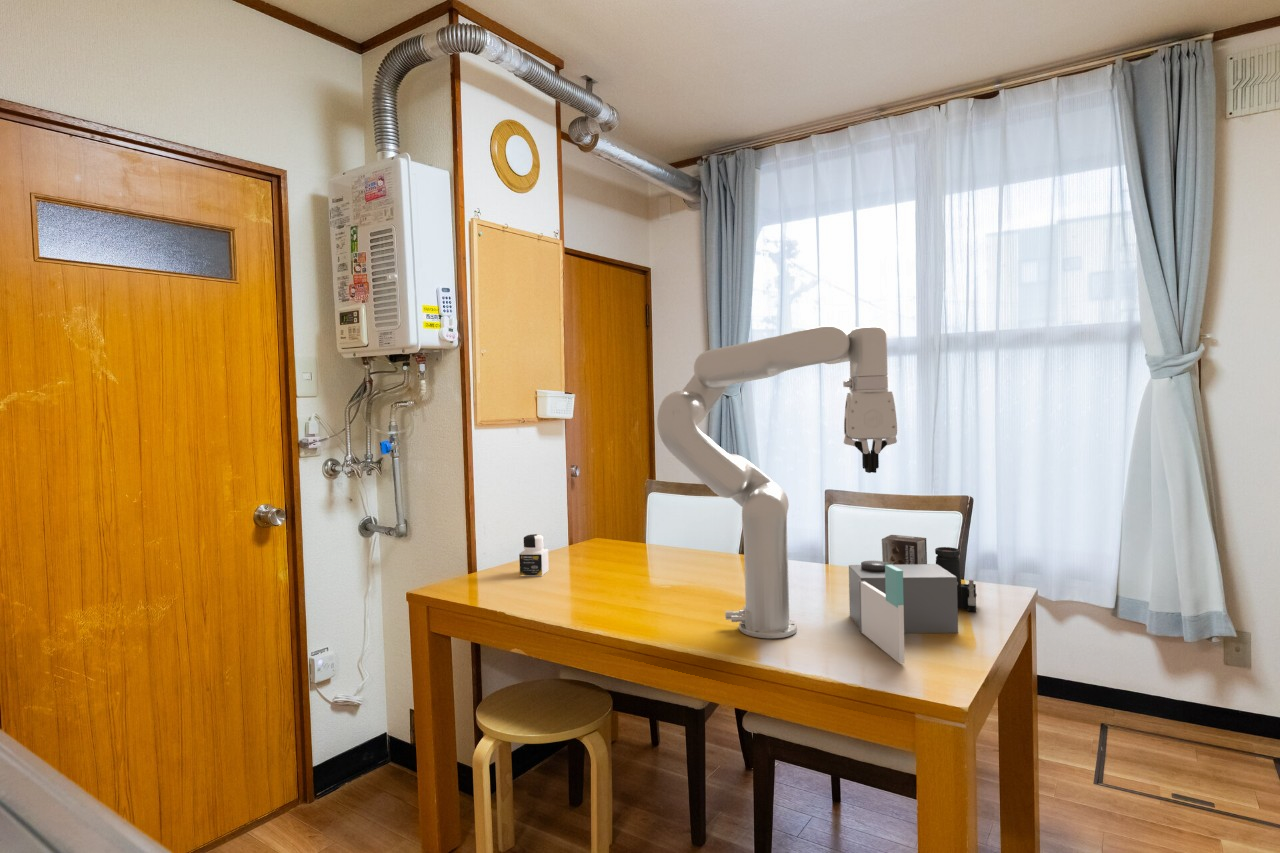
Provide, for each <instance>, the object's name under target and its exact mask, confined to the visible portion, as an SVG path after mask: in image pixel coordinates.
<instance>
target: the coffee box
mask: <svg viewBox="0 0 1280 853" xmlns="http://www.w3.org/2000/svg"><path fill="white" fill-rule="evenodd" d="M927 548H928V547H927V537H920V536H911V535H910V536H909V535H901V534H900V535H898V534H890V535H887V536H884V537H883V538H882V539H881V551H882V552H881V553H882V562H887V563H889V565H903V564H928V554H927Z"/></svg>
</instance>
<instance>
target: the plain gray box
mask: <svg viewBox="0 0 1280 853" xmlns="http://www.w3.org/2000/svg"><path fill="white" fill-rule="evenodd" d="M885 565H889V563H887V562H883V560H882V561H881V560H864V561H861V562H860V564H848V587H849V588H848V589H849V590H848V593H849V594H848V598H849V599H848V600H849V602H848V603H849V617H850V618H851V620H852V621H853V622H854V624H855V625H856V626H857V628H858V629H859V630H860V627H859V580H864V581H865V582H867V583H868V584H870V585H872V586H873V587H875V588H877V589H878V590H880V591H881V592H883V593H885V594H886V587H885ZM893 566H895V567H897V568H899V569H901V570H903V603H904V634H959V620H958V619H959V615H958V611H959V609H958V605H957V577H956V576H954V575H953V574H951V573H950V572H948V571H947V570H945V569H944V568H942V567H941V566H939V565H938V564H936V563H933V564H931V563H930V564H929V563H927V564H903V565H893Z"/></svg>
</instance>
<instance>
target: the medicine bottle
mask: <svg viewBox="0 0 1280 853" xmlns="http://www.w3.org/2000/svg"><path fill="white" fill-rule="evenodd" d="M544 547H545V546H544V536H543V535H541V534H537V533H536V534H527V535H525V536H524V537H523V550H522V551H521V552H519V558H518V559H519V576H520V575H527V576H526V577H543V576H545V575H546V574H547V573H548V572H549V571H550V570H549V568H550V567H549V565H550V564H549V562H550V561H549V549H548V548H544ZM546 572H547V573H546ZM542 575H543V576H542Z"/></svg>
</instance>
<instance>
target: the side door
mask: <svg viewBox="0 0 1280 853" xmlns="http://www.w3.org/2000/svg"><path fill="white" fill-rule="evenodd" d="M885 587H886V594H885V593H883V592H881V591H880V590H878V589H877V588H875V587H873V586H872V585H870V584H868V583H867V582H865V581H864V580H859V627H860V629H859V632H860V633H862V634H863V635H864V636H865V637H866V638H868V639H869V640H870V641H871V642H873V643H874V644H875V645H876V646H878V648H880V649H881V650H882V651H884V652H885V653H886V654H887V655H889V657H891V658H892V659H894V660H895V661H896V662H898V664H905V663H906V661H905V660H906V659H905V633H904V603H903V570H901V569H899V568H897V567H895V566H893V565H885Z"/></svg>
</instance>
